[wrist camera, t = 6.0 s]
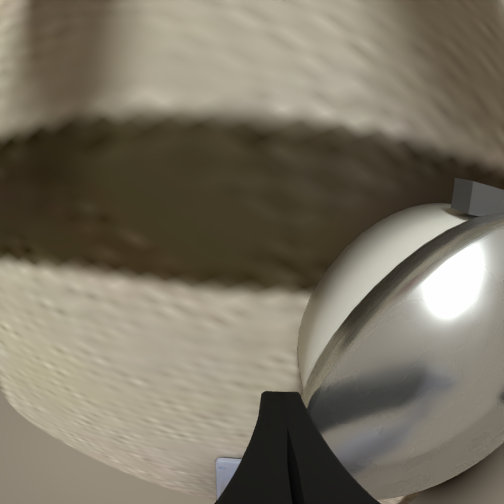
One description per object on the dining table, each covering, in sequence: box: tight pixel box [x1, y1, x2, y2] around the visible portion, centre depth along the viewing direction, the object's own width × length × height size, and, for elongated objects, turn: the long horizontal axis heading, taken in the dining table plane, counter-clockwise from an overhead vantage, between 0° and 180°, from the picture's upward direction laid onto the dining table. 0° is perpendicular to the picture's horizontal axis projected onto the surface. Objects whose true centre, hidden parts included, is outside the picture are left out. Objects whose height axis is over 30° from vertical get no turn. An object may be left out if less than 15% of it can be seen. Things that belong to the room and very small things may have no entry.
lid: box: [302, 213, 504, 500], centre depth 9 cm, size 15×15×3 cm
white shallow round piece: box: [297, 178, 504, 392], centre depth 12 cm, size 16×14×4 cm
